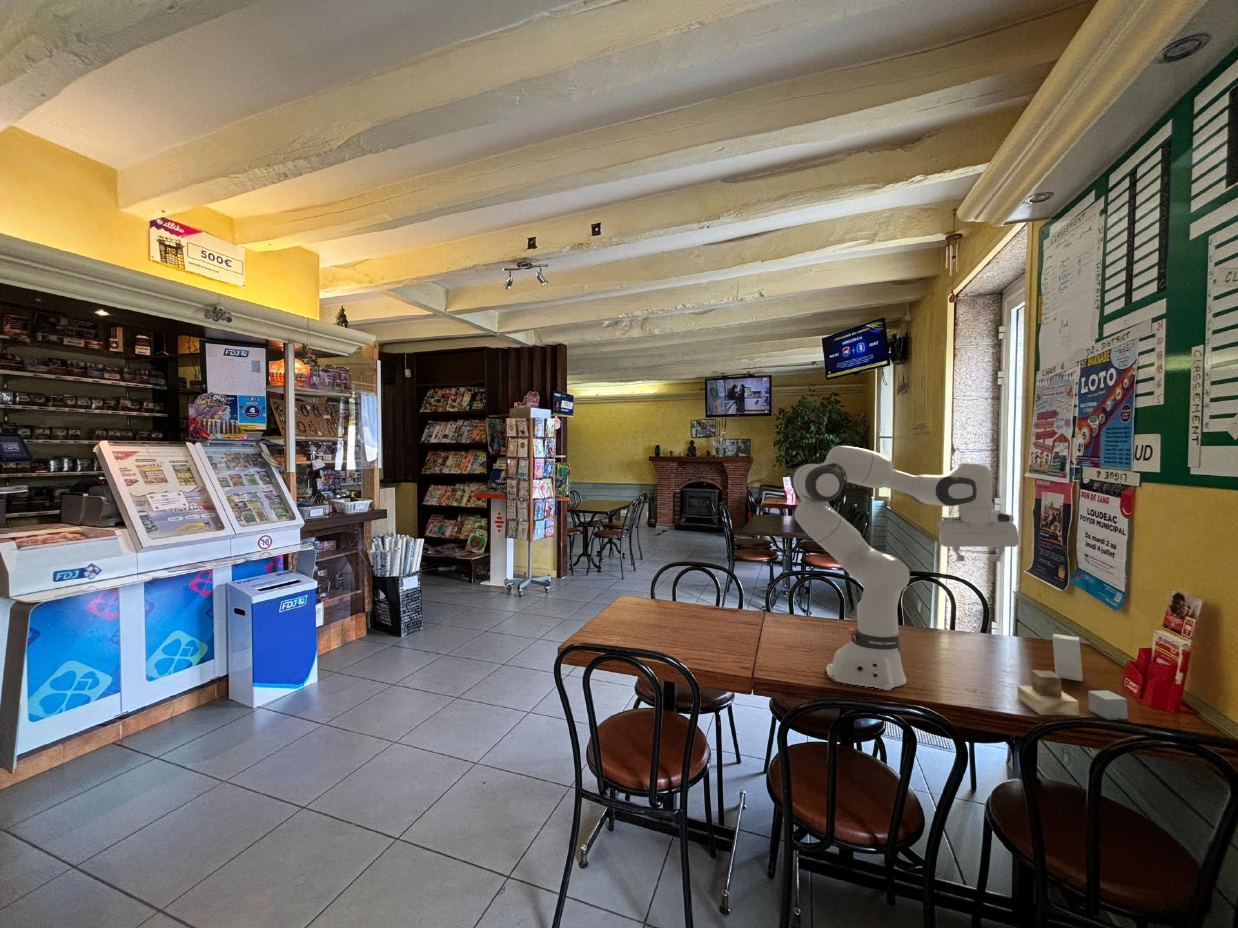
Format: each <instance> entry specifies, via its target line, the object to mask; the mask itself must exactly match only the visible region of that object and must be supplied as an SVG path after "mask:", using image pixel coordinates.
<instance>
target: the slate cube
mask: <svg viewBox="0 0 1238 928" xmlns="http://www.w3.org/2000/svg"><path fill="white" fill-rule="evenodd" d="M1087 693H1088V697H1087V698H1088V709H1089V711H1090V712H1092V713H1094V714H1095V715H1098V716H1100V717H1102V718H1103V719H1105V718H1106V720H1119V719H1118V718H1121V719H1120V720H1129V719H1128V717H1129V716H1128V704H1127V703H1128V700H1127V698H1125V697H1123V696H1121V695H1119V694H1116V693H1114V692H1113V691H1110V690H1108V689H1107V690H1088V691H1087Z"/></svg>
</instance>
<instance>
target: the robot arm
mask: <svg viewBox="0 0 1238 928" xmlns="http://www.w3.org/2000/svg"><path fill="white" fill-rule="evenodd" d="M992 479H993V478H992V475H991V471H990V468H989V467H988V466H987V465H985V464H982V463H976V462H973V463H972V462H961V463H960V464H958V466H956V467H955V468H953V469H952V470H950V471H948V472H945V473H943V474H929V473H925V474H917V475H913V474H910V473H907V472H903V471H900V470H897V469H894V466H893V462H892V460H891V459H890V458H889V457H887V456H886V455H883V454H881V453H878V452H876V451H873V450H869V449H866V448H860V447H855V446H849V445H836V446H833V447H832V448H830V450H829V451H828V454H827V455H826V458H825V460H824V462H822V463H804V464H800V465H799V466H798V467H796V468H795V469H794V470H793V472H792V473H791V477H790V484H791V486H792V489H793V492H794V494H795V498H796V500H797V501H798V502H799V503H798V505H797V506H796V508H795V510H794V519H795V521H796V522H797V524H798V525H799V526H800V527H801V529H802V530H803V531H804V532H805V533H806V534H807V536H809V537H810V538H811V539H812V540H813V541H814V542H816V543H817V544H818V545H819V546H820V547H821V548H822V549H823V550H825V552H827V553H828V554H829V555H830V556H831V557H833V558H834V560H835V561H836V562H837V563H838V564H839V565H840V566H841V568H843V570H845V572H847V574H848V575H849V576H850V577H852V578H853V579H854V580H855V581H857V582H859V583H862V584H863V592H862V597H861V599H860V601H858V603H857V605H856V614H857V615H856V617H857V628H856V629H854V628H852V627H848V629H847V633H848V635H849V636H850V639H851V641H849V642H848V643H846V644H845V645H844V646H842V647H840V648H839V649H837V650H836V651H835V653H834V656H833V661H832V663H828V665H826V667H825V668H826V669H825V672H826V671H827V674H828V675H829V676H830V677H831V676H834V677H831V678H833V679H835V680H836V681H839V682H842V683H848V684H853V685H859V686H858V687H860V686H865V687H864V688H867V687H875V688H879V689H878V690H881V689H883V690H882V691H891V690H892V688H893V689H894V688H895V687H901V686H903V685H906V683H907V678H906V675H905V672H904V668H903V664H902V660H901V648H902V647H901V645H902V644H901V636H900V633H899V627H898V605H899V601H900V597H901V595H902V594H901V593H902V591H903V590H904V589H905V588H906V587H907V585H908V584H909V582H910V579H911V578H910V576H911V575H910V570H909V568H908V567H907V565H906V564H905V563H904V562H902V561H901V560H900V559H898V558H897V557H895V556H894V555H890V554H887V553H884V552H881V551H878V550H877V549H874V548H873V547H872V546H870V545H869V544H868V543H867V542H866V540H865V539H864V538H863V537H862V534H861V532H860V531H859V530H858V529H857V528H855V527H854V526H853V525H852V524H851V523H850V522H849V521H847V520H846V518H844V517H843V516H842V515H840V513H838V512H837V511H836V510H835V509H833V507H832V506H831V504H830V503H829V502H831V501H833V500H835V499H836V498H837V497H838V496H840V494H841V492H842V491H843V489H844V486H845V485H846V484H847V483H851V484H855V485H857V486H860V487H861V486H862V487H866V488H874V489H882V488H887V489H890V490H893V491H897V492H900V493H903V494H904V495H905V494H906V495H907V496H909V497H910V498H911V499H913V500H914V501H915V502H916V503H918V504H920V505H922V506H923V505H924V506H937V507H938V506H940V507H955V506H958V515H956V516H955V515H953V516H952V515H951V516H947V515H946V516H943V517H941V518H939V519H938V521H937V528H938V529H939V531H938V544H940V545H941V546H942V547H947V548H950V547H951V548H952V550H953V552H954V553H955V556H956V561H957V562H965V555H963V554H961V553H960V552H959V551H960V550H961V548H962V547H963V548H964V547H965V548H966V547H967V548H968V547H970V548H971V547H972V548H973V547H974V548H976V547H979V548H980V547H983V548H988V547H990V548H991V547H995V549H996V550H997V551H996V553H995V554H992V561H993V562H996V563H999V562H1000V563H1001V561H1002V560H1001V559H1002V557H1001V556H1002V555H1003V554H1004V552H1005V548H1012V547H1015V548H1016V547H1017V546H1018V545H1019V544H1020V540H1019V532H1018V529H1017V526H1016V525H1015V524H1014V523H1013V522H1014V520H1015V519H1014V518H1015V517H1014V516H1013V515H1012V514H1009V513H1004V512H1002V511H998V510H995V509H994V508H995V507H994V503H993V501H992V496H993V494H994V493H993V491H994V489H993V480H992ZM827 674H826V675H827ZM853 685H852V686H853Z"/></svg>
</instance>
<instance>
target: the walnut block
mask: <svg viewBox="0 0 1238 928" xmlns="http://www.w3.org/2000/svg"><path fill="white" fill-rule="evenodd" d="M1031 681H1032V682H1031V686H1032V688H1033V689H1034V690H1035V691H1036V692H1037V693H1038V694H1040V695H1041V696H1051V697H1062V692H1063V691H1062V678H1060V677H1059V676H1057V675H1056V674H1055V672H1054V671H1052V670H1041V669H1039V670H1037V669H1031ZM1061 691H1062V692H1061Z"/></svg>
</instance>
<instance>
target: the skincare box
mask: <svg viewBox="0 0 1238 928" xmlns="http://www.w3.org/2000/svg"><path fill="white" fill-rule="evenodd" d="M1051 639H1052V647H1053V648H1052V649H1053V658H1054V659H1053V660H1054V669H1055V670H1054V671H1055V672H1054V673H1055V674H1056V675H1057V676H1059V677H1060V678H1061V679H1064V680H1065V679H1066V680H1069V681H1077V682H1083V668H1082V667H1083V666H1082V655H1081V645H1080V637H1079V636H1071V635H1066V634H1065V635H1064V634H1058V633H1057V634H1056V633H1054V634H1053V635H1052V638H1051Z"/></svg>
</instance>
